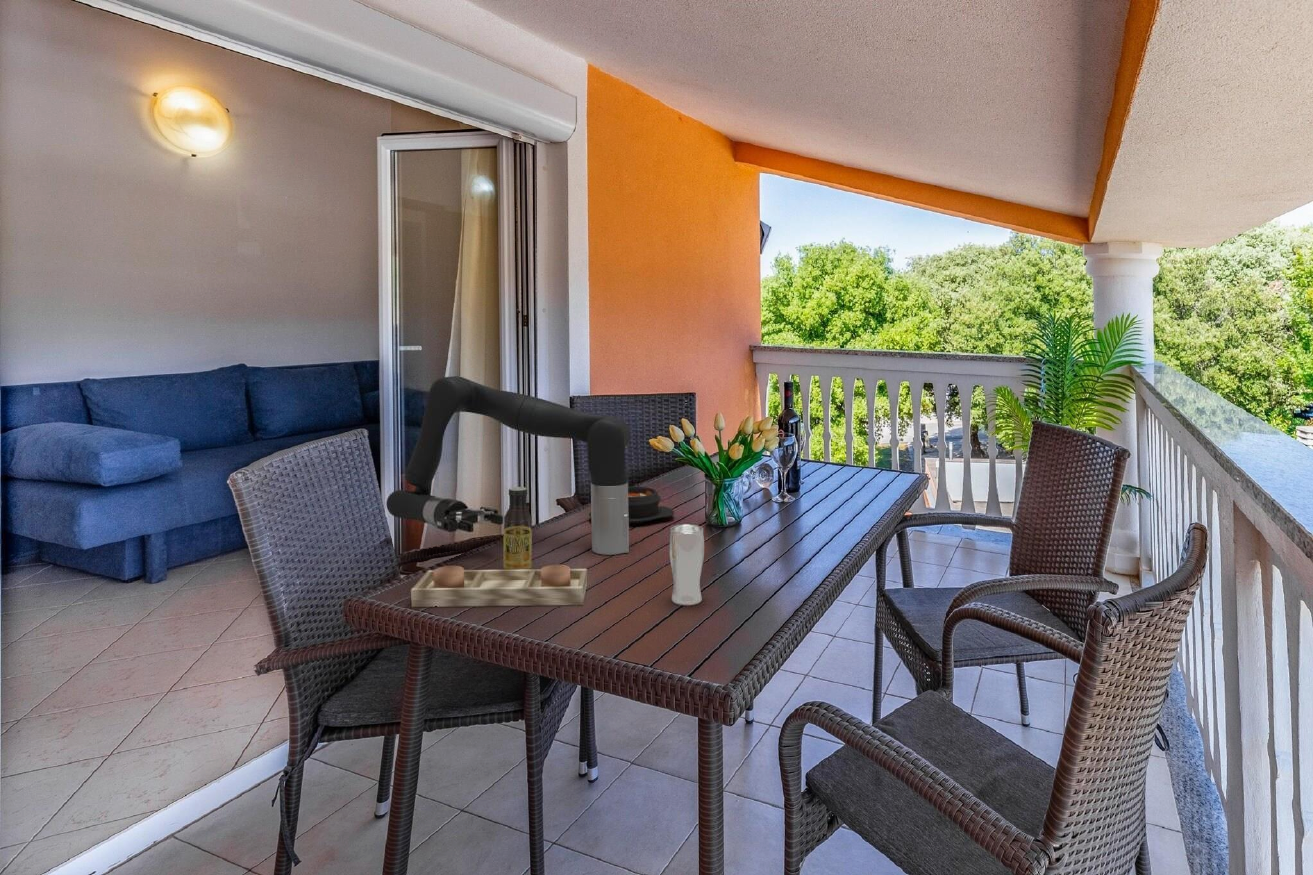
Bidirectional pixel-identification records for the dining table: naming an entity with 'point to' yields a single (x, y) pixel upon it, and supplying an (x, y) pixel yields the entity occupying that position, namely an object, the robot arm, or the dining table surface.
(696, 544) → the beer glass
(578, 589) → the rail
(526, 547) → the sauce bottle
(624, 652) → the dining table surface
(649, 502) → the casserole
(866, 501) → the dining table surface
